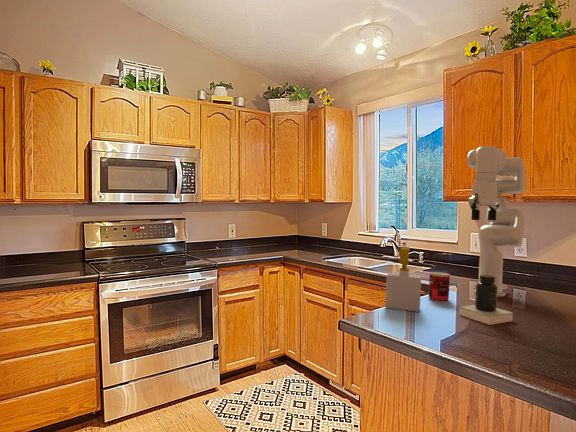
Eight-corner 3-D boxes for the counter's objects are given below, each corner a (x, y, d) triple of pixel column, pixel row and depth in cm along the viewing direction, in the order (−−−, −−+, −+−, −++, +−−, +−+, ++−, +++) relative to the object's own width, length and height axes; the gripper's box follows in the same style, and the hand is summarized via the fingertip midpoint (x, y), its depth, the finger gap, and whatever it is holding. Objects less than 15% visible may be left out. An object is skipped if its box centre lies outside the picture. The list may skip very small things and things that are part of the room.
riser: (481, 311, 144) (482, 303, 144) (512, 321, 133) (512, 312, 133) (459, 314, 139) (459, 306, 139) (489, 324, 128) (489, 315, 128)
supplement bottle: (470, 307, 138) (472, 274, 138) (484, 306, 141) (486, 273, 140) (486, 312, 132) (488, 278, 132) (501, 311, 134) (502, 277, 134)
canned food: (432, 296, 167) (433, 271, 167) (451, 299, 162) (452, 273, 162) (425, 299, 162) (426, 273, 161) (445, 302, 156) (446, 276, 156)
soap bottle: (419, 308, 147) (422, 247, 146) (418, 312, 140) (421, 249, 140) (387, 304, 151) (389, 245, 150) (385, 308, 145) (387, 246, 144)
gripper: (491, 179, 161) (489, 219, 161) (462, 176, 153) (460, 219, 154) (508, 178, 154) (506, 220, 155) (479, 175, 147) (477, 220, 147)
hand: (483, 220), depth 154 cm, fingers open, 9 cm apart
